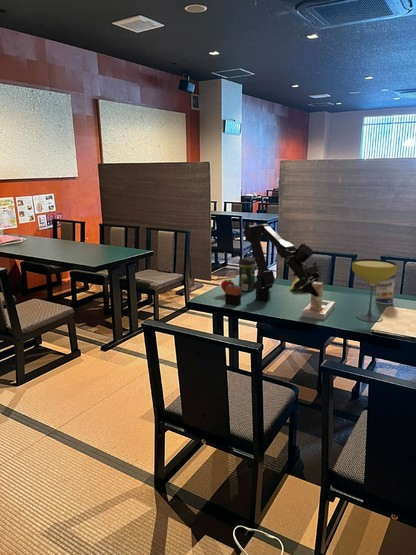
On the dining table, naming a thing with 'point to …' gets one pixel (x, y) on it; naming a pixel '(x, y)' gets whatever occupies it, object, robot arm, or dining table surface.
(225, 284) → the strawberry
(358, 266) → the cocktail glass
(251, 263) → the coffee jar
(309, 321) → the dining table surface
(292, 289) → the plastic component
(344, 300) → the dining table surface
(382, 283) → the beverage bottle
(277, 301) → the dining table surface
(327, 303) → the white flat box
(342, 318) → the dining table surface
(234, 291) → the battery
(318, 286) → the peg
